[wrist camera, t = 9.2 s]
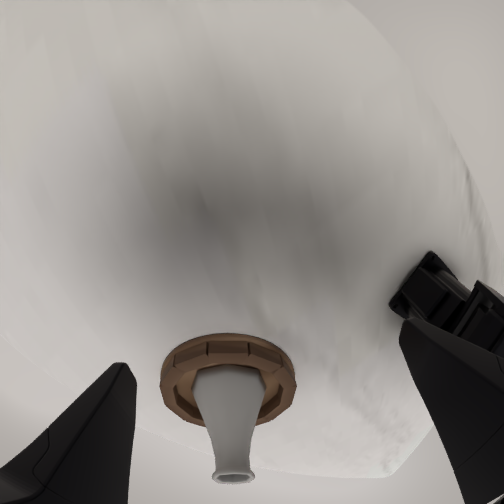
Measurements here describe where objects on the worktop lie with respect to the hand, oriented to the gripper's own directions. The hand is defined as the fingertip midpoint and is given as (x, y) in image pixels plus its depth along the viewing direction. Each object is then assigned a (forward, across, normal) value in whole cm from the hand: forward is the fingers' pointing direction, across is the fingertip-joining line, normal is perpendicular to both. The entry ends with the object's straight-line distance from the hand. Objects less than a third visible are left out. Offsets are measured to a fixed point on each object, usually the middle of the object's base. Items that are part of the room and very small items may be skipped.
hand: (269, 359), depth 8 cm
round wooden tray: (+12, +4, +15) cm, 20 cm away
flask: (+12, +4, +15) cm, 19 cm away
